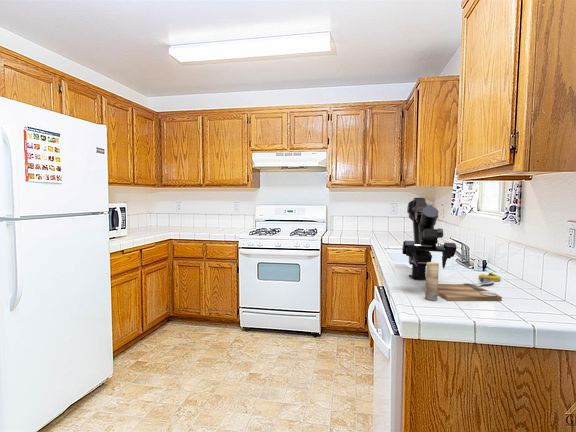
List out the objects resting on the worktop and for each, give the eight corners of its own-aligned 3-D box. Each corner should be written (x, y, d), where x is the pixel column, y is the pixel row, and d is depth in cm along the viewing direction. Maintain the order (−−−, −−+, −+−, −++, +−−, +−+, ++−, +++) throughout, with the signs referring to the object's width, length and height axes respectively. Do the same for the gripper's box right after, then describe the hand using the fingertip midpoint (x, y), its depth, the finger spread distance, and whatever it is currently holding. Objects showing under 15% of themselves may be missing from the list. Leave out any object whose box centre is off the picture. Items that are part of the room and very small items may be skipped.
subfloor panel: (425, 287, 137) (425, 282, 137) (473, 287, 138) (473, 283, 138) (447, 300, 120) (447, 295, 120) (501, 300, 122) (501, 295, 121)
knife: (490, 290, 137) (502, 278, 155) (491, 283, 137) (503, 273, 155) (469, 286, 142) (483, 275, 161) (469, 279, 142) (483, 270, 160)
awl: (422, 297, 124) (424, 262, 123) (433, 297, 124) (435, 262, 123) (428, 300, 120) (429, 264, 119) (439, 300, 120) (441, 264, 119)
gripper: (404, 219, 131) (406, 252, 121) (456, 221, 127) (463, 255, 117) (401, 237, 140) (403, 269, 130) (450, 240, 135) (456, 273, 125)
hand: (430, 267), depth 125 cm, fingers open, 9 cm apart
